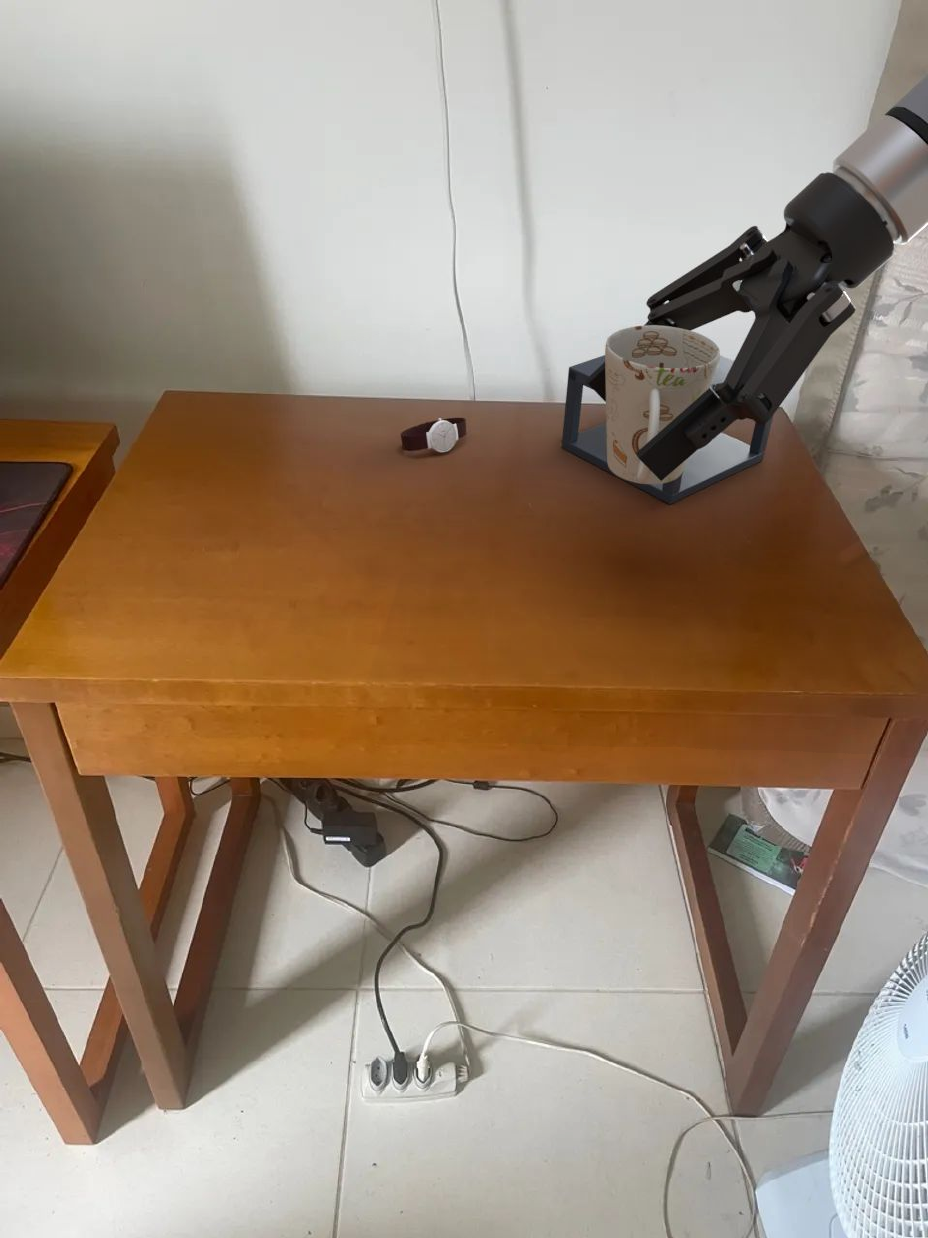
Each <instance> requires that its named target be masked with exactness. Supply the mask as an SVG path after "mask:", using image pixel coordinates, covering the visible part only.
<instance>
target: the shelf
mask: <svg viewBox="0 0 928 1238" xmlns="http://www.w3.org/2000/svg"><path fill="white" fill-rule="evenodd" d="M604 362H605V354H604V355H601V356H598V357H595V358H592V359H588V360H585V361H583V362H580V363H576V364H574V365H571V366H569V367H568V374H567V383H566V395H565V404H564V405H565V406H564V416H563V425H562V437H561V438H562V439H561V448H562V449H563V450H565V451H567V452H569V453H571V454H573V455H575V456H577V457H578V458H580V459H583V460H584V461H586V462H588V463H590V464H592V465H593V466H596V467H597V468H599V469H602V470H603V471H605V472H607V473H608V474H611V475H612V476H615V477H616V478H619V479H620V480H623V481H624V482H626V483H628V484H630V485H631V486H634V487H635V488H638V489H639V490H640V491H643V492H645V493H647V494H649V495H651V496H652V497H654V498H656V499H658V500H660V501H662V502H664V503H666V504H668V505H672V504H675V503H676V502H679V501H680V500H682V499H684V498H686V497H689V496H691V495H693V494H695V493H697V492H699V491H702V490H704V489H706V488H707V487H710V486H712V485H714V484H716V483H718V482H720V481H722V480H724V479H726V478H728V477H731V476H733V475H735V474H737V473H739V472H741V471H743V470H745V469H747V468H749V467H752V466H754V465H755V464H758V463H760V462H762V461H764V457H765V453H766V449H767V444H768V440H769V436H770V432H771V427H772V423H773V419H774V415H773V416H772V417H771V419H770V420H769V421H768V422H767V423H765V424H763V425H758V424H756V422H754V427H753V432H752V436H751V441H750V444H748V443H746V442H744V441H741V440H740V439H737V438H735V437H733V436H730V435H728V434H726V433H724V432H723V431H722V432H721V433H720V434H719V435H717V437H715V438H714V439H712V441H711V442H710V443H709V444H707V445H706V446H705V447H703V448H701V449H698V450H697V451H696V452H694V453H693V454H692V455H691V456H690V457H689V458H687V461H686V464H685V467H684V469H683V472H682V474H681V475H680V476H679V477H678V478H677V479H675V480H673V481H670V482H667V483H662V484H641V483H635V482H631V481H628V480H625V479H623V478H621V477H619V476H617V475H616V474H614V473H613V472H612V471H611V470H610V468H609V467H608V463H607V430H606V421H605V422H603V423H601V424H598V425H596V426H593V427H591V428H588V429H585V430H582V431H580V432H579V429H580V422H581V421H580V420H581V412H582V411H581V410H582V402H583V401H582V400H583V391H584V387H587V388H588V389H591V390H593V389H592V388H591V387H590V385H589V384H588V383H587V382H586V379H587V378H588V377H589V376H590V375H591V374H592V373H593V372H594V371H596V370H597V369H598V368H599V367H600V366H601V365H602V364H603V363H604ZM733 362H734V360H733V359H731V358H728V357H726V356H723V355H720V357H719V362H718V365H717V368H716V372H715V375H714V378H713V381H712V384H711V387H710V389H711V390H712V391H713V392H714V394H715V395H716V396H717V397H718V398H720V397H719V396H718V395H717V394H716V393H715V391H714V390H713V389H712V385H713V384H715V385H716V384H717V383H723V382H724V380H725V378H726V376H727V374H728V372H729V370H730V368H731V366H732V364H733ZM760 398H761V399H762V401H763V399H764V398H765V396H764V395H763V394H762V393H761V395H760Z"/></svg>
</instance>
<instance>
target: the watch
mask: <svg viewBox="0 0 928 1238" xmlns="http://www.w3.org/2000/svg"><path fill="white" fill-rule="evenodd" d="M465 436H467V420H466V418H465V417H449V418H448V417H447V418H442V417H438V419H437V420H432V421H425V422H424V423H420V424H418V425H414V426H411V427H410V428H406V429H405V430H403V431H402V432H400V441H401V445H402V450H403V451H406V452H415V451H422V450H426V449H428V450H430V449H432V450H434V451H436V452H438V453H446V452H449V451H451V449H452V448H453V447H454V446H455V445H456V442H457V441H459V439H462V438H464V437H465Z"/></svg>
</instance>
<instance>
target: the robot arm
mask: <svg viewBox="0 0 928 1238" xmlns="http://www.w3.org/2000/svg"><path fill="white" fill-rule="evenodd" d="M782 214H783V220H784V221H785V227H784V229H783V230H782V232H780V233H779V234H777V235H776V236H774V237H772V238H771V239H769V240H767V238H766V237H765V235H764V233H762V231H761V230H760V228H759V227H758V226H757V225H753V226H750V227H749V228H748V229H746V230H745V231H744V232H743V233H742V234H741V235H739V236H738V237H737V238H736V239H735V240H734V241H733V242H732V243H730V244H729V245H728V246H727V247H725V248H723V249H722V250H721V251H719V252H717V253H715V255H713V256H711V257H710V258H708V259H707V260H705V261H703V262H701V264H698V265H697V266H695V267H694V268H692V269H691V270H689V271H688V272H686V273H685V274H683V275H681V276H679V277H678V278H677V279H675V280H674V281H672V282H671V283H669V284H668V285H666V286H665V287H663V288H661V289H659V290H658V291H657V292H655V293H653V294H652V295H651V296H650V297H648V298H647V301H646V307H648V309H649V313H648V315H647V321H646V322H645V323H644V324H643V326H646V325H657V326H669V327H676V328H681V329H686V330H690V331H693V330H696V329H698V328H700V327H703V326H705V325H708V324H710V323H712V322H714V321H717V320H719V319H721V318H724V317H726V316H728V315H731V314H734V313H737V312H740V313H744V314H746V313H750V312H752V313H754V321H753V322H752V325H751V327H750V328H749V331H748V333H747V335H746V336H745V338H744V340H743V343H742V344H741V347H740V348H739V351H738V352H737V355H735V358H734V360H733V361H734V362H733V364H732V366H731V368H730V370H729V372H728V374H727V376H726V378H725V380H724V382H723V383H717V384H716V385H715V384H713V385H712V389H713V390H714V391H715V393H716V394H717V395H718V396H719V397H720V398H718V397H717V396H716V395H715V394H714V392H713V391H712V390H711V389H710V388H709V389H708V390H707V391H705V392H704V393H703V394H702V395H701V396H700V397H699V398H697V399H696V400H695V401H694V402H693V403H692V404H691V405H690V406H688V407H687V408H686V409H685V410H684V411H683V412H682V413H681V414H679V415H678V416H677V417H676V418H675V419H674V420H673V421H672V422H670V423H669V424H668V425H667V426H666V427H665V428H664V429H663V430H661V431H660V432H659V433H658V434H657V435H656V436H655V437H653V438H652V439H651V440H650V441H649V442H648V443H647V444H646V445H644V446H643V447H642V448H641V449H640V450H639V451H638V452H637V453H635V454H636V455H637V457H638V458H639V459H640V460H641V461H642V462H643V463H644V464H645V465H646V466H647V467H648V468H649V469H650V470H651V471H652V472H653V473H654V474H655V475H656V476H657V478H658V479H659V480H660V481H662V480H663V479H664V478H666V477H667V476H668V475H669V474H670V473H671V472H672V471H674V470H675V469H676V468H677V467H678V466H679V465H681V464H682V463H683V462H684V461H685V460H686V459H687V458H689V457H690V456H691V455H692V454H693V453H694V452H696V451H697V450H698V449H701V448H703V447H705V446H706V445H707V444H709V443H710V442H711V441H712V439H714V438H715V437H717V435H719V434H720V433H721V432H722V433H723V432H724V431H725V430H726V429H727V428H728V427H729V426H731V425H732V424H733V423H734V422H735V421H737V420H740V421H743V420H746V419H748V420H752V421H754V423H756V424H758V425H763V424H765V423H767V422H768V421H769V420H770V419H771V417H772V416H773V417H774V415H775V413H776V412H777V410H778V409H779V408H780V407H781V405H782V404H783V402H784V401H785V399H786V398H787V397H788V395H789V394H790V392H791V391H792V390H793V388H794V387H795V386H796V384H797V382H799V380H800V379H801V377H802V375H803V374H804V373H805V371H807V369H808V367H809V366H810V364H811V363H812V362H813V361H814V359H815V358H816V356H817V355H818V353H819V352H820V351H821V349H822V348H823V347H824V345H825V344H826V343H827V341H828V339H829V338H830V337H831V336H832V334H834V333H835V331H837V330H838V329H839V328H840V327H842V325H843V324H844V323H846V322H847V321H848V320H849V319H850V318H851V317H852V316H853V314H855V312H856V306H855V304H854V303H853V301H852V300H851V299H850V297H849V296H848V294H847V292H846V291H845V290H844V289H846V290H854V289H857V288H858V287H860V286H861V285H862V284H863V283H864V282H865V281H866V280H867V279H869V278H870V277H871V276H872V275H873V274H874V273H875V272H877V271H878V270H879V269H880V268H881V267H883V265H885V264H886V263H887V262H888V261H889V260H891V259H892V257H893V256H894V252H895V245H906V244H908V243H909V242H910V241H911V240H912V239H913V238H914V237H915V236H917V235H918V234H919V233H920V232H921V231H922V230H923V229H924V228H926V226H928V73H927V74H926V75H925V76H924V77H923V78H922V79H920V80H919V81H918V82H917V84H916V85H914V86H913V88H911V89H910V90H909V91H908V92H907V93H906V94H905V95H904V96H903V97H901V98H900V99H899V100H898V102H896V103H895V104H894V105H893V106H892V107H891V108H890V109H889V110H887V112H886V113H884V114H882V115H881V116H880V117H879V118H878V119H877V120H876V121H875V122H874V123H872V124H871V125H870V126H869V127H868V128H867V129H865V131H864V132H863V133H862V134H861V135H860V136H858V138H856V139H855V141H853V142H852V143H851V144H850V145H849V146H848V147H847V148H846V149H845V150H843V151H842V153H840V154H839V155H838V156H837V157H836V158H835V159H833V160H832V172H828V171H827V172H821V173H819V174H818V175H817V176H816V177H814V178H813V180H812V181H810V182H809V183H808V184H807V185H806V186H805V187H804V188H803V189H802V190H800V192H798V193H797V194H796V195H795V196H794V198H792V199H791V200H790V201H789V202H788V203H787V204H786V205H785V207H784V209H783V213H782ZM843 288H844V289H843ZM586 382H587V383H588V384H589V385H590V387H591V388H592V389H591V388H590V389H591V390H593V391H594V392H595V393H596V394H597V395H598V396H599V397H600V398H601V399H602V400H603V401H604V402H605V403H606V373H605V362H604V363H603V364H602V365H601V366H600V367H599V368H598V369H597V370H596V371H594V372H593V373H592V374H591V375H590V376H589V377H588V378H587V379H586ZM761 393H762V394H763V395H764V396H765V398H764V399H763V401H762V399H761V398H760V395H761Z"/></svg>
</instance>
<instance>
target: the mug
mask: <svg viewBox="0 0 928 1238" xmlns="http://www.w3.org/2000/svg"><path fill="white" fill-rule="evenodd" d="M604 355H605V373H606V402H605V418H606V419H605V422H606V430H607V463H608V467H609V468H610V470H611V471H612V472H613V473H614V474H616V475H617V476H619V477H621V478H623V479H625V480H628V481H631V482H635V483H641V484H662V483H667V482H670V481H673V480H675V479H677V478H678V477H679V476H680V475H681V474H682V472H683V469H684V467H685V464H686V461H687V459H686V460H685V461H684V462H683V463H682V464H681V465H679V466H678V467H677V468H676V469H675V470H674V471H672V472H671V473H670V474H669V475H668V476H667V477H666V478H664V479H663V480H662V481H660V480H659V479H658V478H657V476H656V475H655V474H654V473H653V472H652V471H651V470H650V469H649V468H648V467H647V466H646V465H645V464H644V463H643V462H642V461H641V460H640V459H639V458H638V457H637V455H636V454H635V453H637V452H638V451H639V450H640V449H641V448H642V447H643V446H644V445H646V444H647V443H648V442H649V441H650V440H651V439H652V438H653V437H655V436H656V435H657V434H658V433H659V432H660V431H661V430H663V429H664V428H665V427H666V426H667V425H668V424H669V423H670V422H672V421H673V420H674V419H675V418H676V417H677V416H678V415H679V414H681V413H682V412H683V411H684V410H685V409H686V408H687V407H688V406H690V405H691V404H692V403H693V402H694V401H695V400H696V399H697V398H699V397H700V396H701V395H702V394H703V393H704V392H705V391H707V390H708V389H709V388H710V387H711V384H712V381H713V378H714V375H715V372H716V368H717V365H718V362H719V357H720V356H721V350H720V348H719V346H718V345H717V343H716V342H715V341H713V340H712V339H711V338H709V337H708V336H705V335H703V334H701V333H699V332H697V331H693V330H691V331H690V330H686V329H681V328H676V327H669V326H657V325H646V326H644V325H636V326H630V327H625V328H622V329H619V330H617V331H615V332H613V333H611V335H609V336H608V337H607V339H606V342H605V349H604ZM617 476H616V477H617Z"/></svg>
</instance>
